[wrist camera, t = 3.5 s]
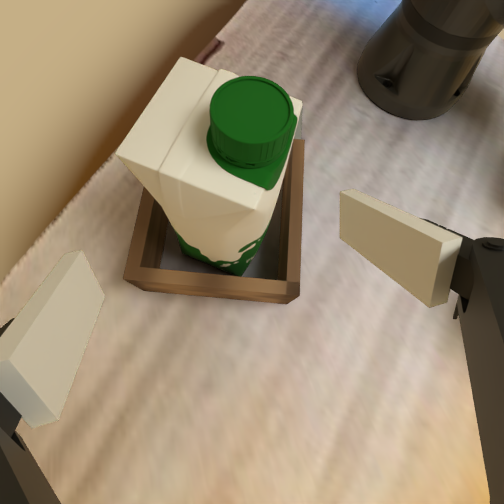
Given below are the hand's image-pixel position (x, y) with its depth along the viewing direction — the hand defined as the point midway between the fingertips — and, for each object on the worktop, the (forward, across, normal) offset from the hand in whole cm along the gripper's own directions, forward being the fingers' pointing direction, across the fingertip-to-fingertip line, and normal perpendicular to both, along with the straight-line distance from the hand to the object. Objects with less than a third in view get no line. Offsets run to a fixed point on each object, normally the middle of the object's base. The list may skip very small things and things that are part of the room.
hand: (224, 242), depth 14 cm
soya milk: (+16, +1, -8) cm, 18 cm away
